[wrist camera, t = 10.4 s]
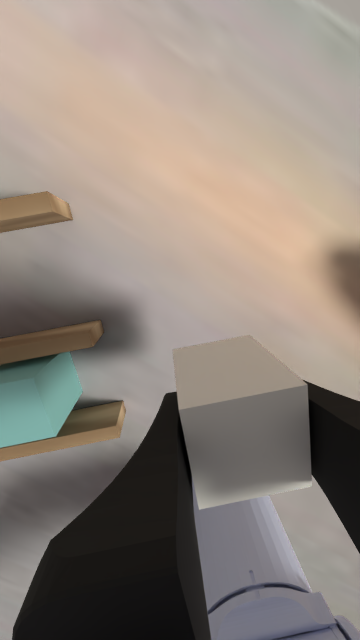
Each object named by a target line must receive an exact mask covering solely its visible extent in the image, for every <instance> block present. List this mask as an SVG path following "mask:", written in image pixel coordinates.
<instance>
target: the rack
mask: <svg viewBox="0 0 360 640" xmlns="http://www.w3.org/2000/svg"><path fill="white" fill-rule="evenodd" d="M69 220H73V218H72V214H71V211H70V207H69V204H68V203H67V202H65V201H63V200H61V199H60V198H58V197H56V196H54V195H53V194H51V193H49V192H47V191H46V192H40V193H34V194H29V195H23V196H17V197H11V198H6V199H0V233H2V232H8V231H13V230H19V229H24V228H30V227H36V226H41V225H47V224H53V223H58V222H64V221H69ZM103 333H104V330H103V327H102V323H101V320H97V321H91V322H86V323H81V324H76V325H70V326H65V327H60V328H54V329H49V330H44V331H38V332H33V333H28V334H22V335H17V336H12V337H7V338H1V339H0V365H1V364H6V363H11V362H16V361H21V360H27V359H32V358H37V357H42V356H48V355H53V354H58V353H63V352H69V351H74V350H79V349H84V348H90V347H93V346H94V345H95V343H96V342H97V341H98V340H99V338H100V337H101V336H102V334H103ZM125 412H126V410H125V406H124V402H123V401H119V402H114V403H109V404H104V405H98V406H93V407H88V408H83V409H78V410H73V411H71V412H70V414H69V415H68V417H67V419H66V420H65V422H64V424H63V425H62V427H61V429H60V430H59V432H58V434H57V435H56V437H51V438H46V439H41V440H36V441H31V442H26V443H22V444H17V445H12V446H7V447H2V448H0V461H5V460H10V459H15V458H20V457H25V456H30V455H35V454H39V453H44V452H49V451H54V450H59V449H64V448H69V447H74V446H79V445H84V444H89V443H94V442H99V441H104V440H109V439H114V438H119V437H120V433H121V429H122V425H123V421H124V417H125Z"/></svg>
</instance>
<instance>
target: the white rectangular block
mask: <svg viewBox="0 0 360 640" xmlns="http://www.w3.org/2000/svg"><path fill="white" fill-rule="evenodd" d="M173 359H174V369H175V378H176V388H177V398H178V408H179V414H180V419H181V424H182V429H183V433H184V438H185V443H186V448H187V453H188V458H189V463H190V468H191V473H192V478H193V483H194V487H195V492H196V497H197V502H198V507H199V510H200V509H205V508H210V507H215V506H219V505H224V504H229V503H234V502H239V501H244V500H249V499H253V498H258V497H263V496H268V495H273V494H278V493H282V492H287V491H292V490H297V489H302V488H307V487H312V475H311V452H310V429H309V406H308V384H306V383H305V382H304V381H303V380H302V379H301V378H299V377H298V376H297V375H296V374H295V373H294V372H292V371H291V370H290V369H289V368H288V367H287V366H285V365H284V364H283V363H282V362H281V361H280V360H278V359H277V358H276V357H275V356H274V355H273V354H271V353H270V352H269V351H268V350H267V349H266V348H264V347H263V346H262V345H261V344H260V343H259V342H257V341H256V340H255V339H254V338H253V337H252V336H251V335H247V336H241V337H236V338H231V339H226V340H220V341H215V342H210V343H205V344H199V345H194V346H189V347H184V348H178V349H173Z"/></svg>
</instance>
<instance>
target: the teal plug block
mask: <svg viewBox="0 0 360 640" xmlns="http://www.w3.org/2000/svg"><path fill="white" fill-rule="evenodd" d="M82 392H83V391H82V388H81V385H80V382H79V379H78V376H77V373H76V370H75V367H74V364H73V360H72V357H71V354H70V351H69V352H63V353H58V354H53V355H48V356H42V357H37V358H32V359H27V360H21V361H16V362H11V363H6V364H2V365H1V366H0V448H2V447H7V446H12V445H17V444H22V443H26V442H31V441H36V440H41V439H46V438H51V437H56V435H57V434H58V432H59V430H60V429H61V427H62V425H63V424H64V422H65V420H66V419H67V417H68V415H69V414H70V412H71V410H72V409H73V407H74V405H75V404H76V402H77V400H78V399H79V397H80V395H81V394H82Z"/></svg>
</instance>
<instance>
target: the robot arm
mask: <svg viewBox="0 0 360 640" xmlns="http://www.w3.org/2000/svg"><path fill="white" fill-rule="evenodd" d="M303 381H304V382H305V383H306V384H308V406H309V429H310V452H311V474H312V475H313V477H314V478H315V480H316V481H317V482H318V484H319V485H320V487H321V488H322V490H323V491H324V493H325V495H326V496H327V498H328V500H329V501H330V503H331V505H332V507H333V508H334V510H335V512H336V513H337V515H338V517H339V518H340V520H341V522H342V523H343V525H344V527H345V529H346V530H347V532H348V534H349V536H350V538H351V539H352V541H353V543H354V545H355V546H356V548H357V550H358V552H359V553H360V401H357V400H354V399H351V398H348V397H345V396H342V395H340V394H337V393H334V392H332V391H329V390H326V389H324V388H321V387H319V386H316V385H314V384H312V383H309V382H307V381H305V380H303ZM12 640H360V631H359V630H358V629H357V628H356V627H355V626H354V625H353V624H352V623H351V622H350V621H349V620H348V619H347V618H345V617H344V616H341V615H337V616H333V615H332V613H331V611H330V609H329V607H328V605H327V603H326V601H325V599H324V596H323V594H322V593H321V592H316V593H313V592H312V590H311V588H310V586H309V583H308V581H307V579H306V577H305V575H304V572H303V570H302V568H301V566H300V563H299V561H298V559H297V557H296V554H295V552H294V550H293V548H292V545H291V543H290V541H289V539H288V537H287V534H286V532H285V530H284V528H283V525H282V523H281V521H280V519H279V516H278V514H277V512H276V510H275V508H274V505H273V503H272V501H271V499H270V496H269V495H268V496H263V497H258V498H253V499H249V500H244V501H239V502H234V503H229V504H224V505H219V506H215V507H210V508H205V509H200V510H199V507H198V502H197V497H196V492H195V487H194V483H193V478H192V473H191V468H190V463H189V458H188V453H187V448H186V443H185V438H184V433H183V429H182V424H181V419H180V414H179V408H178V398H177V392H172V393H167V394H166V395H165V396H164V398H163V401H162V404H161V406H160V409H159V411H158V413H157V415H156V417H155V419H154V421H153V424H152V425H151V427H150V429H149V431H148V433H147V434H146V436H145V438H144V440H143V441H142V443H141V444H140V446H139V448H138V449H137V451H136V452H135V453H134V455H133V456H132V458H131V459H130V460H129V462H128V463H127V464H126V466H125V467H124V468H123V469H122V471H121V472H120V473H119V474H118V476H117V477H116V478H115V479H114V480H113V481H112V483H111V484H110V485H109V486H108V487H107V488H106V489H105V490H104V491H103V492H102V493H101V494H100V495H99V496H98V497H97V498H96V499H95V500H94V501H93V502H92V503H91V504H90V505H89V506H88V507H87V508H86V509H85V510H84V511H83V512H82V513H81V514H80V515H79V516H78V517H77V518H75V519H74V520H73V521H72V522H71V523H70V524H69V525H68V526H66V527H65V528H64V529H63V530H62V531H61V532H60V533H59V534H57V535H56V536H55V537H54V538H53V539H51V541H50V543H49V545H48V547H47V549H46V551H45V553H44V555H43V557H42V559H41V561H40V563H39V566H38V568H37V570H36V573H35V575H34V577H33V580H32V582H31V585H30V587H29V590H28V592H27V595H26V597H25V600H24V602H23V605H22V607H21V610H20V612H19V615H18V617H17V620H16V622H15V625H14V627H13V637H12Z"/></svg>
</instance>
